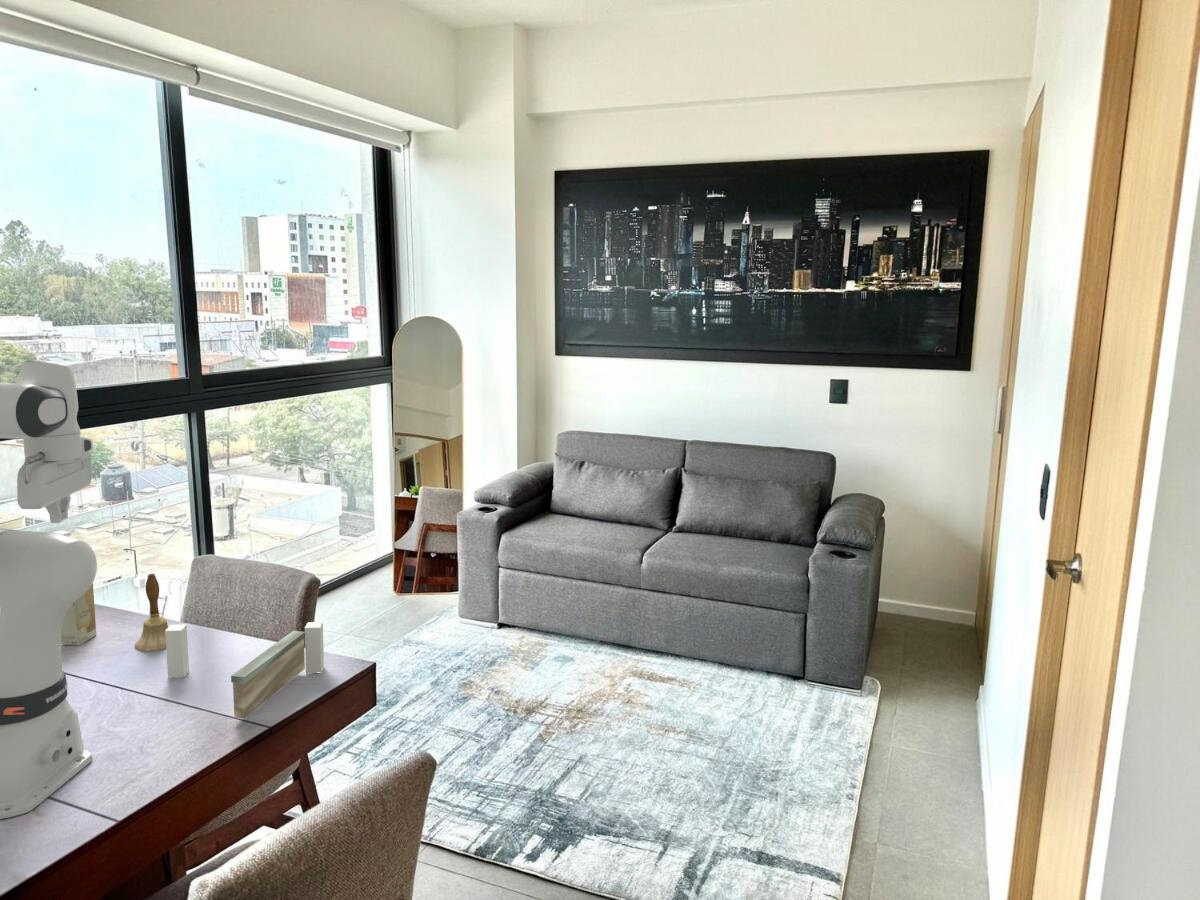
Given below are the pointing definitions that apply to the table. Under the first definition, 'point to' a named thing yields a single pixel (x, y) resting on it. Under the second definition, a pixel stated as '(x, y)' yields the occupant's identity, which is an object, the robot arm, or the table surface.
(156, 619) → the hand bell
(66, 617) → the skincare box
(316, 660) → the gate posts
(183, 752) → the table surface
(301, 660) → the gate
